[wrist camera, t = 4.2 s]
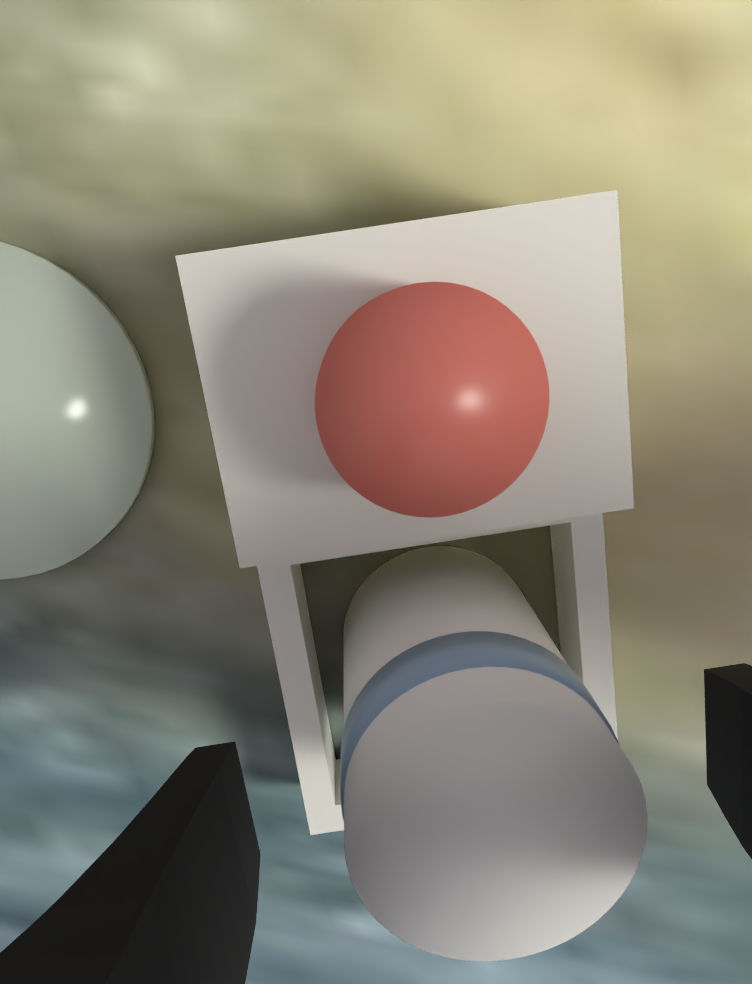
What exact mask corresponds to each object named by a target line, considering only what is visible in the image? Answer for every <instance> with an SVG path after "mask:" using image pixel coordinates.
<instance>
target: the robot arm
mask: <svg viewBox="0 0 752 984" xmlns="http://www.w3.org/2000/svg"><path fill="white" fill-rule="evenodd" d="M704 683H705V721H706V758H707V785H708V787H709V789H710V790H711V792H712V794H713V796H714V798H715V799H716V801H717V803H718V805H719V807H720V808H721V810H722V812H723V814H724V816H725V818H726V819H727V821H728V823H729V824H730V826H731V828H732V829H733V831H734V833H735V834H736V836H737V838H738V839H739V841H740V843H741V845H742V846H743V848H744V849H745V850H746V852H747V853H748V855H749V856H750V857H751V859H752V666H750V665H747V664H744V663H743V664H736V665H730V666H723V667H717V668H710V669H704ZM259 867H260V850H259V846H258V841H257V837H256V832H255V828H254V824H253V819H252V815H251V810H250V806H249V801H248V797H247V792H246V788H245V784H244V779H243V775H242V770H241V766H240V761H239V757H238V752H237V748H236V744H235V742H229V743H223V744H216V745H210V746H203V747H197V748H195V749H194V750H193V751H192V752H191V753H190V754H189V755H188V756H187V757H186V759H185V760H184V761H183V762H182V763H181V764H180V766H179V767H178V768H177V769H176V770H175V771H174V773H173V774H172V775H171V776H170V777H169V779H168V780H167V781H166V782H165V783H164V784H163V786H162V787H161V788H160V789H159V790H158V792H157V793H156V794H155V795H154V796H153V797H152V799H151V800H150V801H149V802H148V803H147V804H146V806H145V807H144V808H143V809H142V810H141V811H140V812H139V814H138V815H137V816H136V817H135V818H134V819H133V820H132V822H131V823H130V824H129V825H128V826H127V827H126V828H125V830H124V831H123V832H122V833H121V834H120V835H119V836H118V838H117V839H116V840H115V841H114V842H113V843H112V844H111V845H110V846H109V847H108V848H107V849H106V850H105V851H104V852H103V853H102V855H101V856H100V857H99V858H98V859H97V860H96V861H95V862H94V863H93V864H92V865H91V866H90V867H89V868H88V869H87V870H86V871H85V872H84V873H83V874H82V875H81V876H80V877H79V879H78V880H77V881H76V882H75V883H74V884H73V885H72V886H71V887H70V888H69V889H68V890H67V891H66V892H65V893H64V894H63V895H62V896H61V897H60V898H59V899H58V900H57V901H56V902H55V903H54V904H53V905H52V906H51V907H50V908H49V909H48V910H47V911H46V912H45V913H44V914H43V915H42V916H41V917H39V918H38V919H37V920H36V921H35V922H34V923H33V924H32V925H31V926H30V927H29V928H28V929H27V930H25V931H24V932H23V933H22V934H21V935H20V936H19V937H18V938H16V939H15V940H14V941H13V942H12V943H11V944H10V945H9V946H8V947H6V948H5V949H4V950H3V951H2V952H1V953H0V984H245V980H246V975H247V969H248V964H249V958H250V953H251V947H252V942H253V936H254V930H255V924H256V913H257V900H258V885H259Z"/></svg>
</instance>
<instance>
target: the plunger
mask: <svg viewBox="0 0 752 984" xmlns="http://www.w3.org/2000/svg"><path fill="white" fill-rule="evenodd" d="M548 411H549V382H548V375H547V370H546V367H545V363H544V360H543V356H542V354H541V352H540V350H539V347H538V345H537V343H536V341H535V339H534V338H533V336H532V335H531V333H530V331H529V330H528V328H527V327H526V326H525V325H524V323H523V322H522V321H521V320H520V319H519V317H518V316H516V315H515V314H514V313H513V312H512V311H511V310H510V309H509V308H508V307H507V306H505V305H504V304H502V303H501V302H500V301H498V300H497V299H495V298H494V297H492V296H490V295H488V294H486V293H484V292H482V291H480V290H477V289H474V288H471V287H468V286H465V285H460V284H455V283H450V282H422V283H415V284H410V285H406V286H401V287H399V288H396V289H393V290H391V291H388V292H385V293H383V294H381V295H379V296H377V297H375V298H373V299H371V300H370V301H368V302H366V303H365V304H364V305H362V306H361V307H359V308H358V309H357V310H356V311H355V312H354V313H352V314H351V315H350V316H349V317H348V318H347V319H346V320H345V322H344V323H343V324H342V325H341V326H340V328H339V329H338V330H337V332H336V334H335V335H334V337H333V338H332V340H331V342H330V344H329V346H328V348H327V351H326V353H325V355H324V358H323V360H322V363H321V366H320V370H319V373H318V377H317V383H316V389H315V415H316V423H317V427H318V432H319V436H320V439H321V442H322V444H323V447H324V449H325V452H326V454H327V456H328V457H329V459H330V461H331V463H332V465H333V466H334V467H335V469H336V470H337V472H338V473H339V474H340V476H341V477H342V478H343V479H344V480H345V481H346V482H347V483H348V484H349V485H350V486H351V487H352V488H353V489H354V490H355V491H356V492H358V493H359V494H360V495H361V496H363V497H364V498H366V499H367V500H369V501H371V502H372V503H374V504H376V505H378V506H380V507H382V508H385V509H387V510H389V511H392V512H396V513H399V514H402V515H408V516H414V517H429V518H433V517H445V516H450V515H455V514H460V513H463V512H466V511H469V510H472V509H475V508H477V507H479V506H481V505H483V504H485V503H487V502H489V501H490V500H492V499H493V498H495V497H496V496H498V495H499V494H501V493H502V492H503V491H504V490H506V489H507V488H508V487H509V486H510V485H511V484H513V482H514V481H515V480H516V479H517V478H518V477H519V476H520V475H521V474H522V473H523V471H524V470H525V468H526V467H527V466H528V464H529V463H530V461H531V460H532V458H533V456H534V454H535V452H536V451H537V449H538V447H539V444H540V442H541V439H542V437H543V434H544V431H545V427H546V423H547V418H548Z"/></svg>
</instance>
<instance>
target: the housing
mask: <svg viewBox="0 0 752 984" xmlns="http://www.w3.org/2000/svg"><path fill="white" fill-rule="evenodd" d="M175 257H176V262H177V267H178V272H179V277H180V282H181V286H182V291H183V296H184V301H185V306H186V311H187V316H188V320H189V325H190V330H191V335H192V340H193V345H194V349H195V354H196V359H197V364H198V369H199V374H200V378H201V383H202V388H203V393H204V398H205V403H206V407H207V412H208V417H209V422H210V427H211V432H212V437H213V441H214V446H215V451H216V456H217V461H218V466H219V470H220V475H221V480H222V485H223V490H224V495H225V499H226V504H227V509H228V514H229V519H230V524H231V528H232V533H233V538H234V543H235V548H236V553H237V557H238V562H239V567H240V568H247V567H253V566H257V569H258V574H259V579H260V584H261V589H262V594H263V599H264V604H265V609H266V614H267V619H268V624H269V629H270V634H271V639H272V644H273V649H274V654H275V659H276V664H277V669H278V674H279V679H280V684H281V689H282V694H283V699H284V704H285V709H286V714H287V719H288V724H289V729H290V734H291V739H292V744H293V749H294V754H295V759H296V764H297V769H298V774H299V779H300V784H301V789H302V794H303V799H304V804H305V809H306V814H307V819H308V824H309V829H310V834H311V835H315V834H321V833H327V832H334V831H340V830H344V820H343V817H342V809H341V800H340V785H341V759H338V760H336V758H335V752H334V747H333V741H332V736H331V731H330V725H329V720H328V714H327V709H326V703H325V698H324V692H323V687H322V681H321V676H320V670H319V665H318V660H317V654H316V649H315V643H314V638H313V632H312V627H311V621H310V616H309V610H308V605H307V599H306V594H305V589H304V583H303V578H302V572H301V567H300V564H301V563H307V562H314V561H321V560H327V559H334V558H340V557H347V556H353V555H360V554H366V553H373V552H379V551H386V550H392V549H399V548H406V547H412V546H419V545H425V544H432V543H438V542H445V541H451V540H458V539H464V538H471V537H478V536H484V535H491V534H497V533H504V532H510V531H517V530H523V529H530V528H536V527H543V526H550V532H551V543H552V555H553V567H554V578H555V590H556V602H557V613H558V625H559V637H560V648H561V655H562V657H563V658H564V660H565V661H566V663H567V664H568V665H569V666H570V668H571V669H572V670H573V671H574V672H575V673H576V674H577V675H578V676H579V678H580V679H581V681H582V682H583V684H584V685H585V687H586V688H587V690H588V691H589V693H590V694H591V696H592V697H593V699H594V700H595V702H596V703H597V705H598V707H599V708H600V710H601V711H602V713H603V714H604V716H605V717H606V719H607V720H608V722H609V724H610V725H611V727H612V729H613V731H614V733H615V735H616V738H617V740H618V735H617V720H616V705H615V690H614V674H613V659H612V644H611V629H610V613H609V598H608V583H607V568H606V552H605V537H604V522H603V513H607V512H613V511H620V510H626V509H633V508H634V493H633V474H632V456H631V437H630V418H629V400H628V381H627V362H626V344H625V325H624V307H623V288H622V269H621V251H620V232H619V213H618V195H617V190H614V191H607V192H601V193H594V194H587V195H580V196H574V197H567V198H560V199H554V200H547V201H540V202H533V203H527V204H520V205H513V206H506V207H500V208H493V209H486V210H480V211H473V212H466V213H459V214H453V215H446V216H439V217H433V218H426V219H419V220H412V221H406V222H399V223H392V224H386V225H379V226H372V227H365V228H359V229H352V230H345V231H339V232H332V233H325V234H318V235H312V236H305V237H298V238H292V239H285V240H278V241H271V242H265V243H258V244H251V245H244V246H238V247H231V248H224V249H218V250H211V251H204V252H197V253H191V254H184V255H177V256H175ZM422 282H450V283H455V284H460V285H465V286H468V287H471V288H474V289H477V290H480V291H482V292H484V293H486V294H488V295H490V296H492V297H494V298H495V299H497V300H498V301H500V302H501V303H502V304H504V305H505V306H507V307H508V308H509V309H510V310H511V311H512V312H513V313H514V314H515V315H516V316H518V317H519V319H520V320H521V321H522V322H523V323H524V325H525V326H526V327H527V328H528V330H529V331H530V333H531V335H532V336H533V338H534V339H535V341H536V343H537V345H538V347H539V350H540V352H541V354H542V356H543V360H544V363H545V367H546V370H547V375H548V382H549V411H548V418H547V423H546V427H545V431H544V434H543V437H542V439H541V442H540V444H539V447H538V449H537V451H536V452H535V454H534V456H533V458H532V460H531V461H530V463H529V464H528V466H527V467H526V468H525V470H524V471H523V473H522V474H521V475H520V476H519V477H518V478H517V479H516V480H515V481H514V482H513V484H511V485H510V486H509V487H508V488H507V489H506V490H504V491H503V492H502V493H501V494H499V495H498V496H496V497H495V498H493V499H492V500H490V501H489V502H487V503H485V504H483V505H481V506H479V507H477V508H475V509H472V510H469V511H466V512H463V513H460V514H455V515H450V516H445V517H433V518H429V517H414V516H408V515H402V514H399V513H396V512H392V511H389V510H387V509H385V508H382V507H380V506H378V505H376V504H374V503H372V502H371V501H369V500H367V499H366V498H364V497H363V496H361V495H360V494H359V493H358V492H356V491H355V490H354V489H353V488H352V487H351V486H350V485H349V484H348V483H347V482H346V481H345V480H344V479H343V478H342V477H341V476H340V474H339V473H338V472H337V470H336V469H335V467H334V466H333V465H332V463H331V461H330V459H329V457H328V456H327V454H326V452H325V449H324V447H323V444H322V442H321V439H320V436H319V432H318V427H317V423H316V415H315V389H316V383H317V377H318V373H319V370H320V366H321V363H322V360H323V358H324V355H325V353H326V351H327V348H328V346H329V344H330V342H331V340H332V338H333V337H334V335H335V334H336V332H337V330H338V329H339V328H340V326H341V325H342V324H343V323H344V322H345V320H346V319H347V318H348V317H349V316H350V315H351V314H352V313H354V312H355V311H356V310H357V309H358V308H359V307H361V306H362V305H364V304H365V303H366V302H368V301H370V300H371V299H373V298H375V297H377V296H379V295H381V294H383V293H385V292H388V291H391V290H393V289H396V288H399V287H401V286H406V285H410V284H415V283H422Z"/></svg>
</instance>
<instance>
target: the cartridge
mask: <svg viewBox="0 0 752 984" xmlns="http://www.w3.org/2000/svg"><path fill="white" fill-rule="evenodd" d="M343 674H344V730H343V735H342V740H341V785H340V800H341V809H342V817H343V820H344V849H345V858H346V864H347V868H348V872H349V876H350V879H351V881H352V883H353V886H354V888H355V890H356V892H357V894H358V896H359V898H360V899H361V901H362V902H363V904H364V905H365V907H366V908H367V909H368V911H369V912H370V913H371V914H372V915H373V916H374V918H375V919H376V920H377V921H378V922H379V923H380V924H382V925H383V926H384V927H385V928H386V929H387V930H389V931H390V932H391V933H393V934H394V935H396V936H397V937H399V938H400V939H402V940H403V941H405V942H407V943H409V944H411V945H413V946H415V947H417V948H419V949H421V950H424V951H427V952H430V953H433V954H436V955H439V956H443V957H448V958H452V959H459V960H468V961H499V960H509V959H515V958H519V957H524V956H529V955H532V954H535V953H538V952H542V951H545V950H548V949H550V948H552V947H555V946H557V945H559V944H561V943H564V942H566V941H567V940H569V939H571V938H573V937H574V936H576V935H578V934H580V933H581V932H583V931H584V930H585V929H587V928H588V927H589V926H591V925H592V924H594V923H595V922H596V921H597V920H598V919H600V918H601V917H602V916H603V915H604V914H605V913H606V912H607V911H608V910H609V909H610V908H611V907H612V906H613V905H614V903H615V902H616V901H617V900H618V899H619V898H620V896H621V895H622V894H623V892H624V891H625V889H626V888H627V886H628V885H629V883H630V882H631V880H632V878H633V876H634V874H635V872H636V870H637V867H638V865H639V863H640V860H641V856H642V853H643V850H644V846H645V840H646V835H647V809H646V801H645V796H644V793H643V790H642V786H641V783H640V781H639V778H638V776H637V774H636V772H635V770H634V768H633V766H632V765H631V763H630V761H629V760H628V758H627V757H626V755H625V754H624V752H623V750H622V749H621V747H620V746H619V743H618V740H617V738H616V735H615V733H614V731H613V729H612V727H611V725H610V724H609V722H608V720H607V719H606V717H605V716H604V714H603V713H602V711H601V710H600V708H599V707H598V705H597V703H596V702H595V700H594V699H593V697H592V696H591V694H590V693H589V691H588V690H587V688H586V687H585V685H584V684H583V682H582V681H581V679H580V678H579V676H578V675H577V674H576V673H575V672H574V671H573V670H572V669H571V668H570V666H569V665H568V664H567V663H566V661H565V660H564V658H563V657H562V655H561V653H560V652H559V650H558V649H557V647H556V646H555V644H554V642H553V641H552V639H551V638H550V636H549V635H548V633H547V631H546V630H545V628H544V627H543V625H542V624H541V622H540V620H539V619H538V617H537V616H536V614H535V613H534V611H533V610H532V608H531V606H530V605H529V603H528V602H527V600H526V599H525V597H524V595H523V594H522V592H521V591H520V589H519V588H518V586H517V585H516V583H515V582H514V580H513V579H512V578H511V577H510V576H509V575H508V574H507V572H506V571H505V570H503V569H502V568H501V567H500V566H499V565H497V564H496V563H495V562H493V561H491V560H490V559H488V558H487V557H485V556H482V555H480V554H478V553H476V552H473V551H470V550H466V549H463V548H457V547H451V546H433V547H424V548H419V549H415V550H411V551H408V552H406V553H403V554H400V555H398V556H396V557H394V558H392V559H390V560H389V561H387V562H385V563H384V564H382V565H381V566H379V567H378V568H377V569H376V570H375V571H374V572H372V573H371V574H370V575H369V576H368V577H367V579H366V580H365V581H364V582H363V583H362V584H361V586H360V587H359V589H358V590H357V592H356V593H355V595H354V597H353V599H352V601H351V603H350V605H349V608H348V611H347V614H346V618H345V623H344V635H343Z"/></svg>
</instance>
